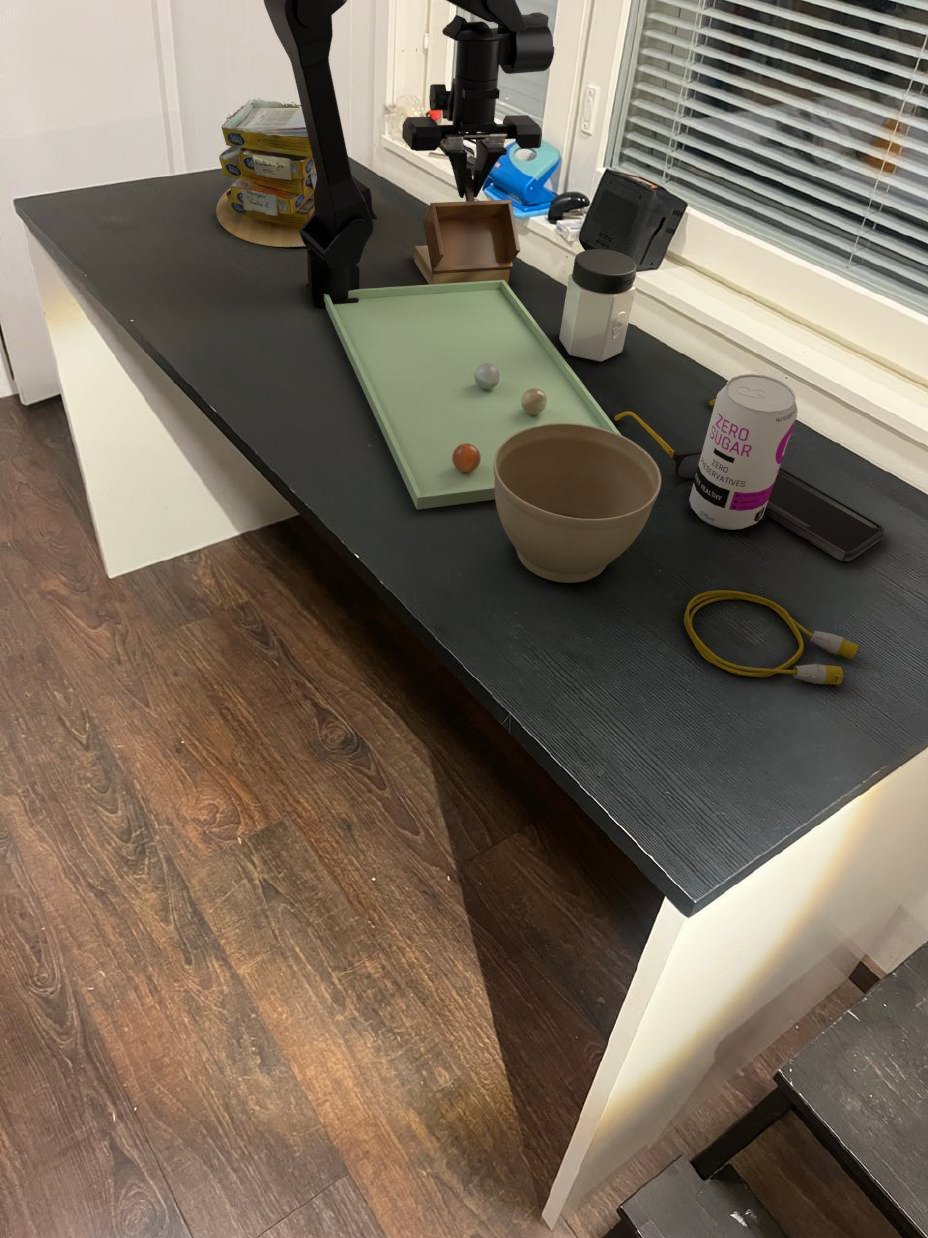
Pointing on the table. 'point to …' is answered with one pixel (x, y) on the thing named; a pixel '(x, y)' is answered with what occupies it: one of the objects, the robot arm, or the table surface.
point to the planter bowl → (572, 497)
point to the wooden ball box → (471, 234)
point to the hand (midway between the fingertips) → (467, 196)
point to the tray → (454, 379)
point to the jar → (598, 304)
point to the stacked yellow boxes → (267, 174)
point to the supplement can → (743, 451)
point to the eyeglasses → (677, 456)
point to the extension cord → (822, 639)
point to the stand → (425, 267)
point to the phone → (820, 518)
